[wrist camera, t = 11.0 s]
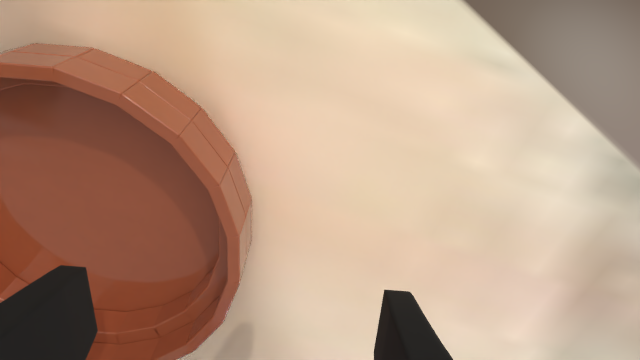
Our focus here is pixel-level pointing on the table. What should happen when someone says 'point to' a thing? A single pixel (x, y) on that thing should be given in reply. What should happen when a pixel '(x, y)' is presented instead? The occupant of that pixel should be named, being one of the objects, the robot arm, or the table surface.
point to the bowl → (119, 198)
